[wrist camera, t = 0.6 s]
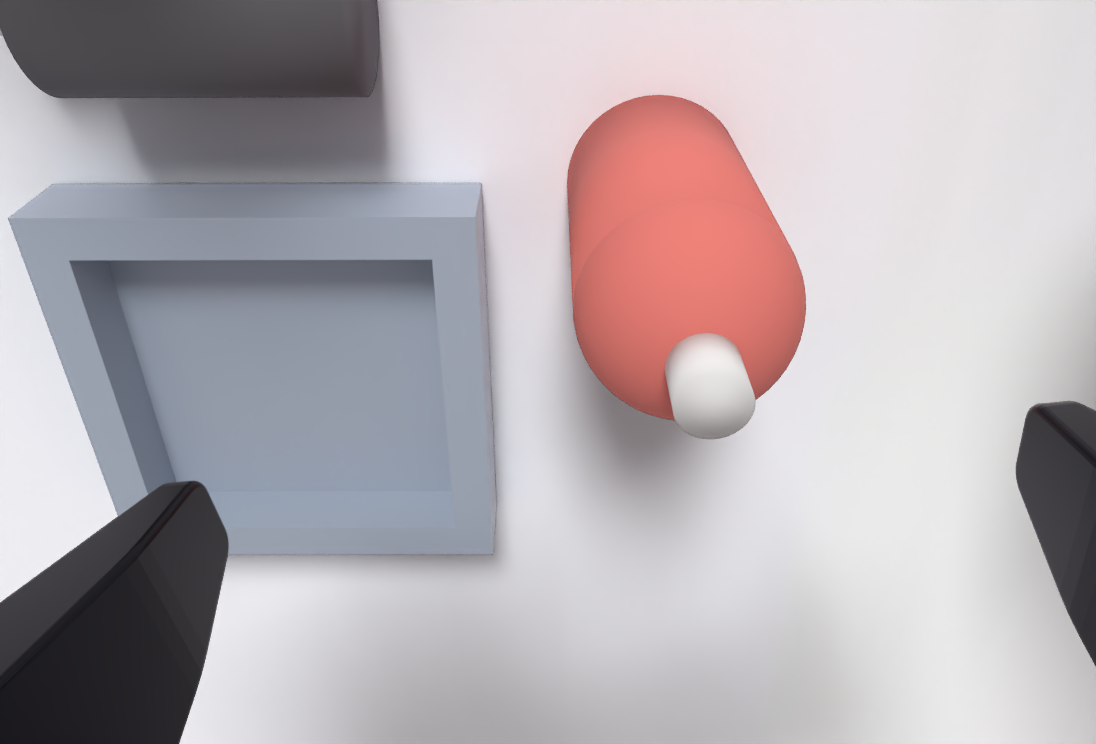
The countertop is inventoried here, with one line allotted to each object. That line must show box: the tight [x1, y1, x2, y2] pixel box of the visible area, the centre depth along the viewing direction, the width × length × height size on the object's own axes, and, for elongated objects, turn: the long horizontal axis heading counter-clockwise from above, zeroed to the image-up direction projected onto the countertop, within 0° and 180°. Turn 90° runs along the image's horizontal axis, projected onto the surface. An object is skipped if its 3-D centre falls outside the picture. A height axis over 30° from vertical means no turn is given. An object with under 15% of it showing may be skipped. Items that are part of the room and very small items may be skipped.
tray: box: [8, 183, 497, 555], centre depth 22 cm, size 10×10×2 cm
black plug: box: [0, 0, 379, 98], centre depth 17 cm, size 7×4×4 cm, turn 90°
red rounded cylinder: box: [567, 95, 806, 439], centre depth 16 cm, size 4×4×9 cm
